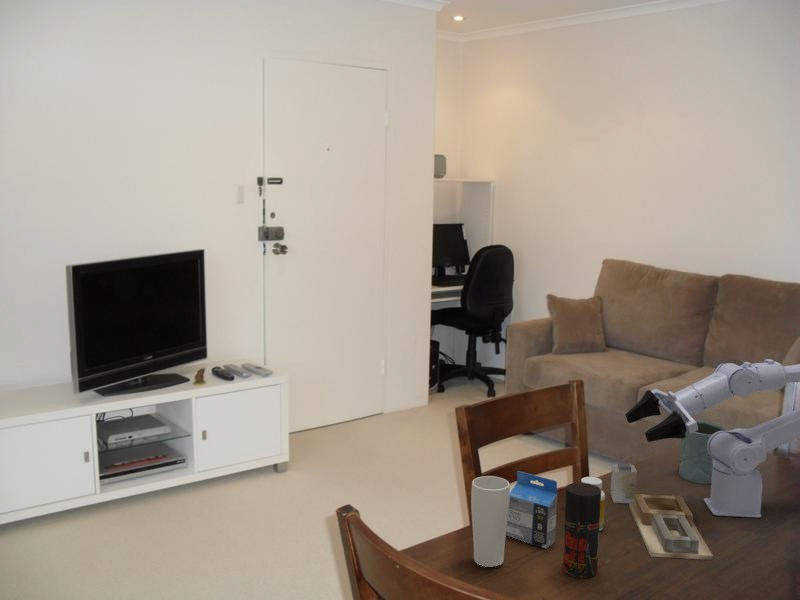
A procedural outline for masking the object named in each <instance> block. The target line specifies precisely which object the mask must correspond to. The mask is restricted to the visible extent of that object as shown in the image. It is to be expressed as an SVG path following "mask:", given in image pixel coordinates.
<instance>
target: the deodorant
mask: <svg viewBox="0 0 800 600" xmlns="http://www.w3.org/2000/svg"><path fill="white" fill-rule="evenodd" d="M601 490H602V489H600V488H599V487H597V486H595V485H592V484H588V483H581V482H573V483H570V484H567V485H566V487H565V505H564V506H565V510H564V526H563V527H564V530H563V552H562V570H564V571H565V572H566V573H567V575H568V574H570V575H572V576H571V577H573V576H574V577H573V578H577V579H578V578H579V579H589V578H590V579H591V578H593V577H595V576H596V575H597V574H598V563H599V562H598V559H599V542H600V531H599V524H600V504H601ZM564 571H563V572H564ZM565 572H564V573H565ZM566 573H565V574H566ZM570 575H569V576H570Z"/></svg>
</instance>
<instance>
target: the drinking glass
mask: <svg viewBox="0 0 800 600" xmlns="http://www.w3.org/2000/svg"><path fill="white" fill-rule="evenodd" d="M510 488H511V487H510V482H509V481H508V480H507V479H505V478H504V477H500V476H494V475H485V476H484V475H483V476H478V477H475V478H474V479H473V480H472V482H471V490H470V491H471V494H470V495H471V496H470V501H471V502H470V505H471V506H470V507H471V521H472V523H471V524H472V535H473V536H472V538H473V541H472V542H473V561H474V562H475V564H476V563H477V565H478V564H479V565H482V566H485V567H493V566H498V565H500V566H501V565H502V564H503V563H504V559H505V547H506V546H505V545H506V538H507V537H506V530H507V522H508V514H509V503H510V492H511V489H510ZM479 565H478V566H479ZM482 566H481V567H482ZM485 567H484V568H485ZM498 567H499V566H498Z"/></svg>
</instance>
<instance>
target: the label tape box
mask: <svg viewBox="0 0 800 600" xmlns="http://www.w3.org/2000/svg"><path fill="white" fill-rule="evenodd" d="M516 477H517V478H516V483H515V485H514V486H513V488H512V489H511V490H510V503H509V514H508V522H507V530H506V535H507V536H510V537H512V538H511V539H513V538H515V539H514V540H516V539H518V540H517V541H520V540H521V542H523V541H524V543H526V542H527V544H529V543H530V545H534V546H536V547H540V548H543V549H549V546H550V547H551V546H552V545H553V544H555V542H556V525H557V503H558V481H557V480H554V479H550V478H546V477H542V476H539V475H535V474H531V473H528V472H524V471H520V470H517V471H516ZM531 481H532V482H531ZM536 481H537V482H538V483H541V484H543V485H540V484H536V483H533V482H536ZM510 537H509V538H510Z"/></svg>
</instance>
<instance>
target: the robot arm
mask: <svg viewBox="0 0 800 600" xmlns="http://www.w3.org/2000/svg"><path fill="white" fill-rule="evenodd" d="M786 383H792V384H793V383H800V363H798V364H792V365H785V366H783V365H782V364H781V363H779V362H778V361H775V360H773V359H770V358H767V359H764V361H763V362H757V363H755V362H754V363H751V362H749V361H743V363H742V364H741V365H738V364H735V363H732V362H729V363H727V362H726V363H723V362H722V363H720V364H719V365H718V366H717V367H716V368H715V370H714V372H713V373H711V374H710V375H707V376H706V377H703V378H702V379H700V380H698V381H696V382H693V383H692V384H690V385H688V386H686V387H684V388H681V389H679V390H678V391H676V392H672V391H671V390H670V391H667V392H664V391H662V390H660V389H658V388H655V389H652V390H650V389H648V390H646V391H645V392H644V394H643V396H642V398H640V400H639V401H638V402H637V403H636V404H635V405H634V406H633V407H632V408H631V409H630V410H628V411H627V412H626V413H625V415H624V416H625V418H626V421H627V422H628V423H629V424H631V423H635V422H638V421H639V420H643V419H645V418H648V417H654V416H661V411H660V407H661V408H662V409H663V410H665V411H666V412H667V413H668V414H669V416H667V417H666V418H665V419H664V420H662V421H661V422H659V423H657V424H656V425H654V426H652V427H651V428H649V429H647V430H646V431H645V432H644V434H645V438H646V441H647V442H648V443H652V442H654V441H655V442H656V441H659V440H661V441H662V440H665V439H680V438H681V439H683V438H685V437H686V435H685V432H686V431H687V432H689V433H690V434H691V433H693V432H695V431H697V430H698V426H697V422H696V421H697V420H695V419H694V418H693V417H695V416H696V415H699V414H701V413H703V412H704V411H707V410H709V409H711V408H713V407H715V406H717V405H719V404H721V403H723V402H726V401H727V400H729V399H730V398H732V397H734V396H737V397H743V398H747V397H750V396H751V395H752V394H753V393H754V392H755V393H756V392H767V391H775V390H777V391H778V390H781V389H783V387H784V386H785V385H786ZM798 439H800V407H799V408H797V409H794V410H792V411H790V412H787V413H785V414H783V415H780V416H778V417H775V418H773V419H771V420H768V421H766V422H763V423H760V424H758V425H756V426H753V427H751V428H734V429H730V430H727V431H718V432H716V433H714V434H713V435H712V436H711V437H710V438H709V440H708V443H707V450H708V452H709V454H710V455H711V456H712V463H713V468H712V482H711V486H710V497H704V498H703V501H704V503H705V504H706V506H707V507H708V509H709V511H710V513H711V514H712V515H713V516H720V517H721V516H722V517H723V516H724V517H725V516H726V517H741V518H742V517H743V518H762V514H761V512H762V510H761V509H762V500H763V499H762V498H763V497H762V496H763V478H762V477H763V476H762V475H761V472H760V470H758V469H755V468H756V467H758V465H760V464H762V463H763V462H766V461H767V453H768V452H769V451H772V450H774V449H776V448H779V447H781V446H785V445H786V444H788V443H790V442H793V441H795V440H798Z"/></svg>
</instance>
